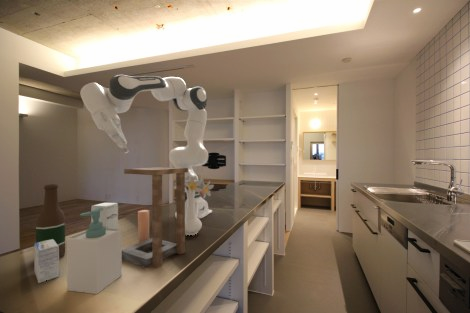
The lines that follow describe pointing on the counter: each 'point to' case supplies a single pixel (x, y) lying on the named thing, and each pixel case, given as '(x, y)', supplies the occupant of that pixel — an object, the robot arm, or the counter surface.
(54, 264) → the medicine box
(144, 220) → the peg
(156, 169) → the brown wooden tall frame
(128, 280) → the counter surface
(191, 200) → the flower vase
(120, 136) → the robot arm
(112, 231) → the soap bottle
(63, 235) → the beer bottle
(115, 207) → the supplement box
